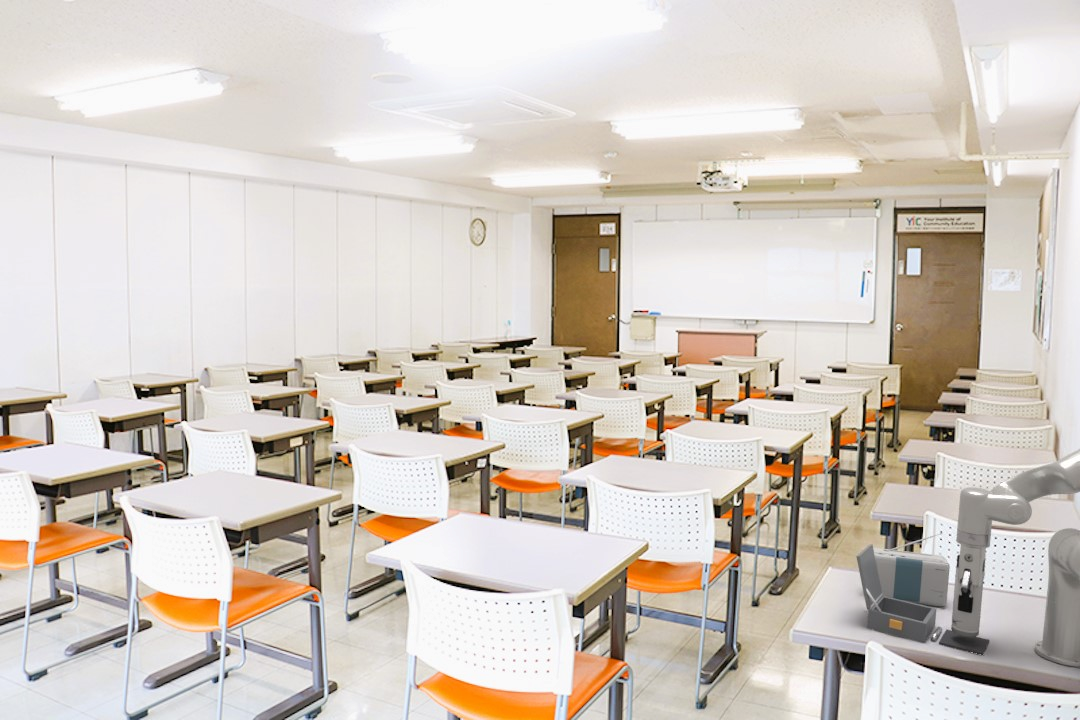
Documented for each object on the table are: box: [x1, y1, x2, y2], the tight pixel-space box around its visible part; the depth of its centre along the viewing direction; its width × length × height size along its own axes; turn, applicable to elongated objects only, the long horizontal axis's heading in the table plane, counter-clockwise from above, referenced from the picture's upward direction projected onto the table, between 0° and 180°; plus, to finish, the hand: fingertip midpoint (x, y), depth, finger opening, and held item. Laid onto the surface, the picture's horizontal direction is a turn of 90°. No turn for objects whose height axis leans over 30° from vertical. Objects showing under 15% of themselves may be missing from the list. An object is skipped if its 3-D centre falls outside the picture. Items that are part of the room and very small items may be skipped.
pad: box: [938, 628, 990, 656], centre depth 214 cm, size 10×10×1 cm
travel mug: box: [950, 554, 986, 637], centre depth 212 cm, size 6×7×20 cm
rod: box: [930, 626, 943, 642], centre depth 218 cm, size 1×9×1 cm, turn 145°
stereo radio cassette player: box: [873, 532, 951, 608], centre depth 241 cm, size 21×8×20 cm, turn 73°
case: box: [855, 543, 937, 644], centre depth 222 cm, size 18×14×19 cm
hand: (967, 606), depth 213 cm, fingers closed on travel mug, 6 cm apart
